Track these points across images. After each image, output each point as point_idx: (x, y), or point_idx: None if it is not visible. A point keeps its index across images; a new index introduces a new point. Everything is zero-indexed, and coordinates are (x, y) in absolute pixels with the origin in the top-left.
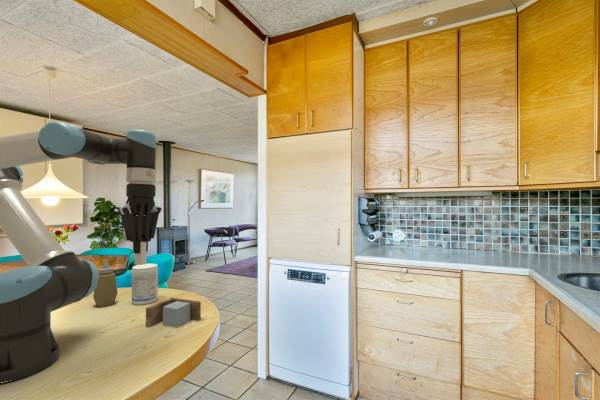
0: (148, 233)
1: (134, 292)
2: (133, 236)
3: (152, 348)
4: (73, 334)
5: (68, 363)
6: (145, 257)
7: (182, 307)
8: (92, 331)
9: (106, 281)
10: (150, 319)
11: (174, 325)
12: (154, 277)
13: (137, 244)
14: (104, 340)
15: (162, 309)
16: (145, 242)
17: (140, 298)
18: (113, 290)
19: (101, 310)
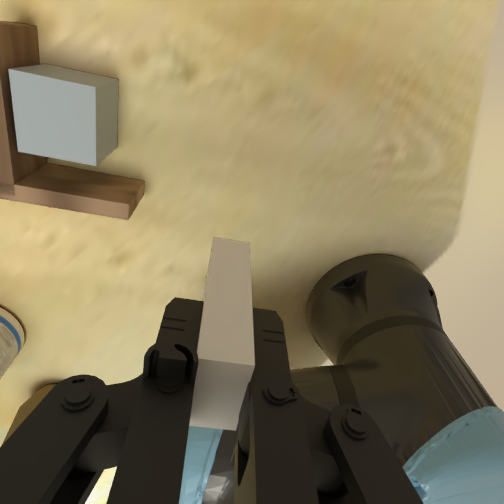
0: (135, 452)
1: (5, 363)
2: (374, 454)
3: (271, 64)
4: None
5: (354, 228)
6: (214, 263)
7: (62, 79)
8: None
9: None
10: (134, 188)
11: (116, 93)
12: None
13: (282, 370)
14: (245, 239)
15: (74, 184)
16: (207, 354)
17: (8, 332)
18: None
19: (96, 376)
